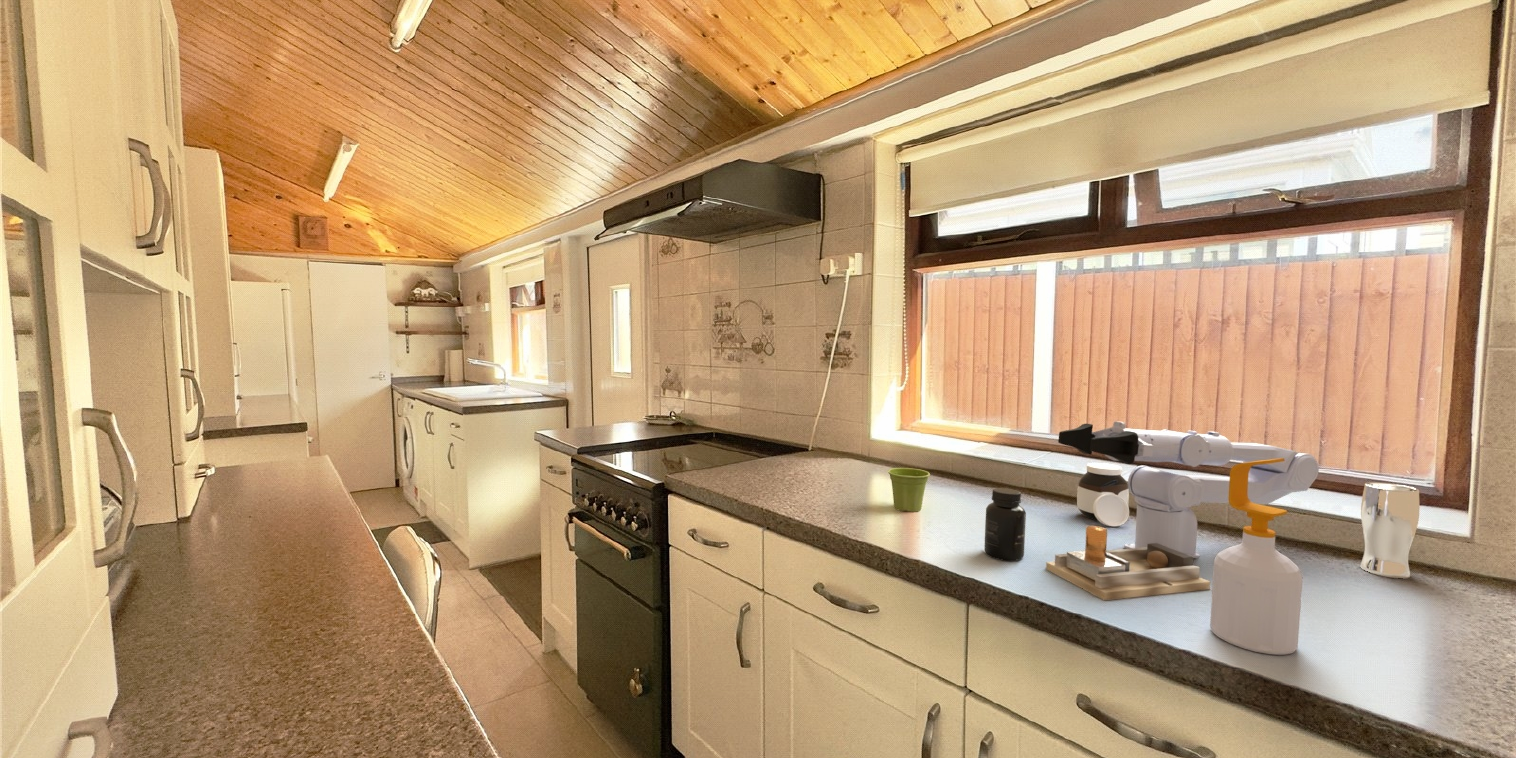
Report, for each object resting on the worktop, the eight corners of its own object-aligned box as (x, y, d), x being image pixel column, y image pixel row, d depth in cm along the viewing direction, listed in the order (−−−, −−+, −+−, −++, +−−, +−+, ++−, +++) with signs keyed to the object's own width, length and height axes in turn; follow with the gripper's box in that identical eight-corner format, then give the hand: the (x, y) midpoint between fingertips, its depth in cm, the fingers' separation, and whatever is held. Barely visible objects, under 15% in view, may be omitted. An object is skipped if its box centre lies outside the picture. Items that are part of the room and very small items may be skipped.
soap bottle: (1276, 663, 76) (1289, 466, 74) (1195, 631, 84) (1206, 453, 82) (1310, 647, 80) (1324, 460, 78) (1231, 618, 88) (1241, 448, 86)
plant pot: (907, 501, 150) (908, 466, 149) (937, 510, 142) (938, 473, 141) (878, 506, 145) (879, 470, 144) (907, 516, 137) (908, 478, 136)
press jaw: (1095, 563, 105) (1097, 520, 105) (1128, 579, 98) (1131, 533, 98) (1066, 566, 104) (1068, 523, 103) (1098, 582, 97) (1100, 536, 96)
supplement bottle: (1028, 563, 109) (1030, 496, 108) (987, 560, 110) (989, 494, 110) (1019, 550, 116) (1022, 487, 115) (981, 547, 117) (983, 485, 116)
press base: (1141, 560, 111) (1143, 537, 111) (1209, 589, 98) (1211, 563, 98) (1046, 568, 106) (1047, 545, 106) (1104, 600, 94) (1105, 573, 94)
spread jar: (1103, 510, 143) (1105, 461, 142) (1149, 524, 133) (1152, 471, 132) (1064, 515, 139) (1066, 464, 138) (1108, 530, 128) (1110, 475, 128)
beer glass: (1401, 568, 108) (1408, 484, 107) (1423, 582, 102) (1430, 493, 101) (1349, 562, 111) (1355, 480, 110) (1367, 575, 105) (1374, 488, 104)
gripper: (1110, 418, 119) (1049, 413, 116) (1176, 429, 105) (1110, 424, 102) (1105, 454, 119) (1045, 450, 116) (1171, 470, 105) (1105, 466, 102)
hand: (1075, 440), depth 109 cm, fingers open, 7 cm apart
